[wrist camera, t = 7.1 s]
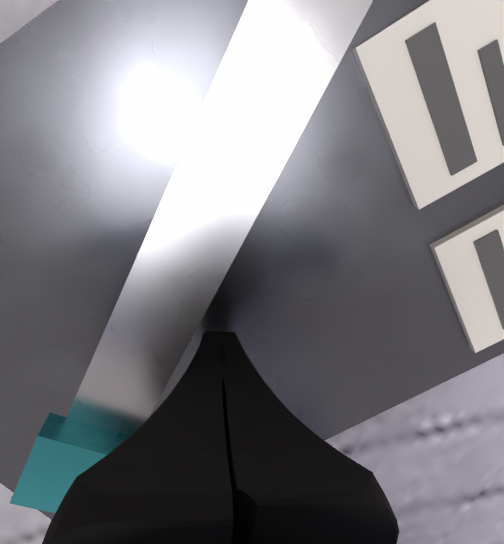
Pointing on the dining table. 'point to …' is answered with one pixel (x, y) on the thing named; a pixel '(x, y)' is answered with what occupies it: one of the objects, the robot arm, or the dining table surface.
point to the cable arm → (196, 229)
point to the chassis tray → (257, 245)
